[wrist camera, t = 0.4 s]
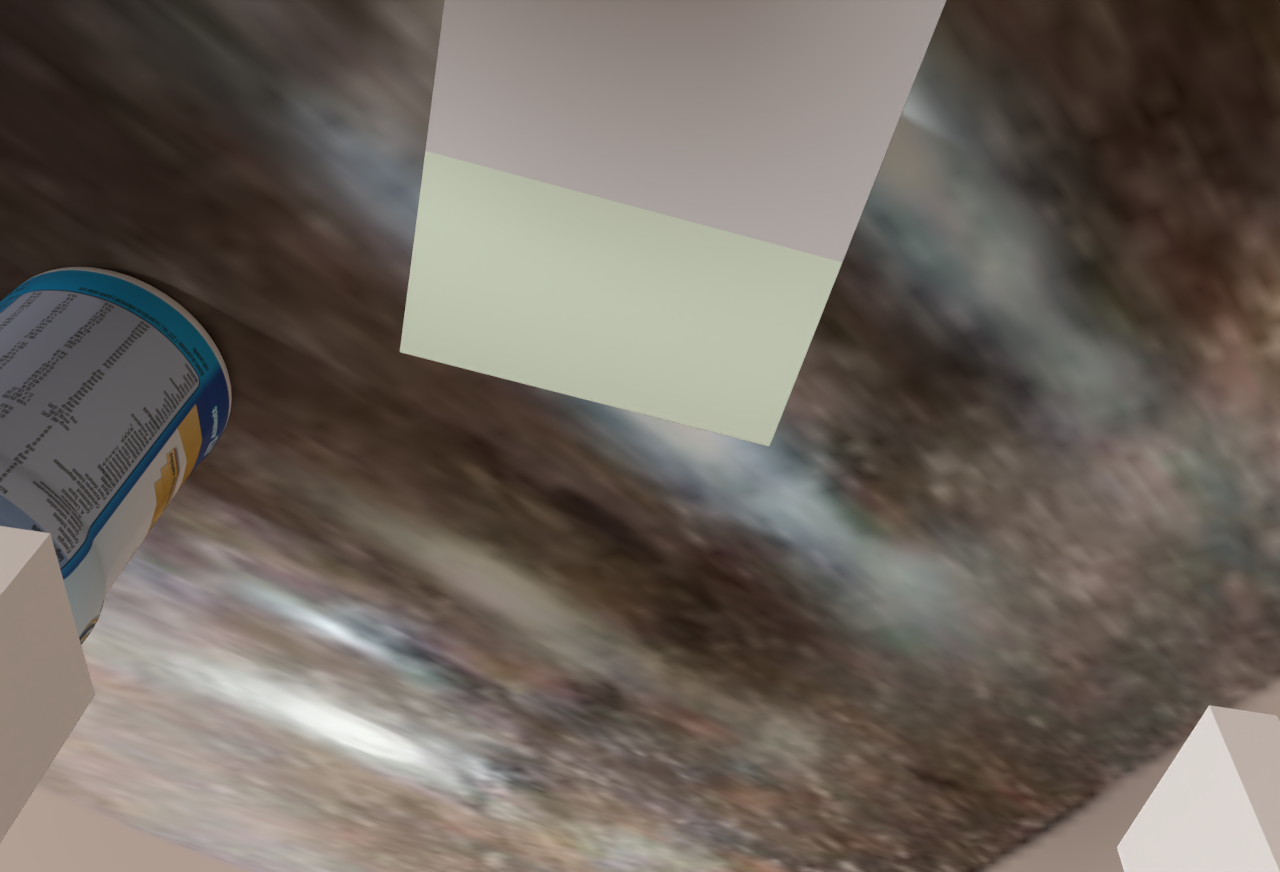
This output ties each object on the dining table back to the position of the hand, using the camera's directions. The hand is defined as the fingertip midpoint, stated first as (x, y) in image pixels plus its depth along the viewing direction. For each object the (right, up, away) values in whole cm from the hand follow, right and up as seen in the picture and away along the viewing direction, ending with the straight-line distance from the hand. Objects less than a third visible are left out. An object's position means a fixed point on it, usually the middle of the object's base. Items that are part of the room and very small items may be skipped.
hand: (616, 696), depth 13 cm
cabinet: (+1, +14, +17) cm, 22 cm away
